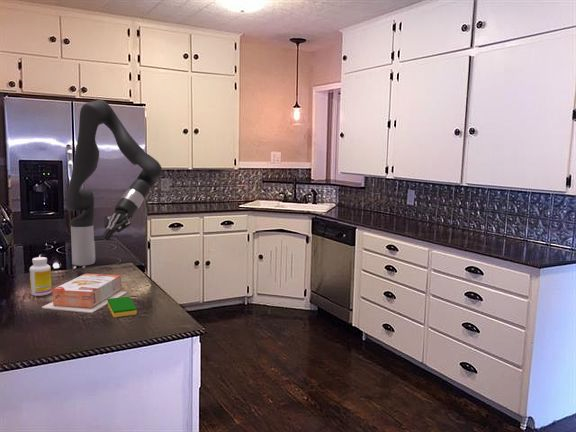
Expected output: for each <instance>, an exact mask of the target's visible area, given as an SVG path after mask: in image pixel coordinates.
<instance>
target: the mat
mask: <svg viewBox="0 0 576 432" xmlns="http://www.w3.org/2000/svg"><path fill="white" fill-rule="evenodd" d="M127 293H128V292H127V291H121V290H120V291H118V292H117V293H115V294H113V295H112V296H110V297H108V298H107V299H110V298H119V297H124V295H126V294H127ZM107 299H105V300H104V301H102V302H100V303H99V304H97V305H96V306H94V307H92V308H89V307H72V306H56V305H53V301H51V302H49V303H47V304H45V305H43V306H41V309H45V310H46V309H47V310H56V311H67V312H76V313H86V314H87V313H88V314H93V313H95V312H96V311H98V310H100V309H102V308H103V307H106V306H108V304H107V301H108V300H107Z"/></svg>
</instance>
